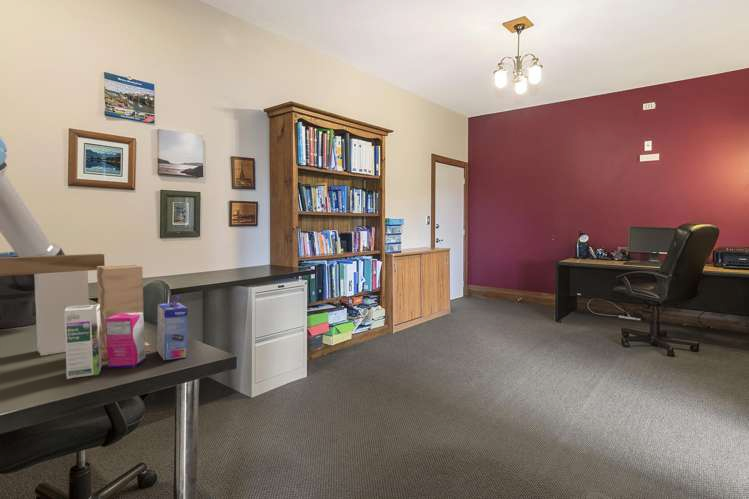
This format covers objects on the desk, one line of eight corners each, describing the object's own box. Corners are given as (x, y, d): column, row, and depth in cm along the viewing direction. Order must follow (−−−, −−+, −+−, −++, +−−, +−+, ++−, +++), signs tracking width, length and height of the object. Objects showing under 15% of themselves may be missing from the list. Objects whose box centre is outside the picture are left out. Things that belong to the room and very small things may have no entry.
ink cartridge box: (189, 357, 98) (188, 298, 97) (164, 362, 95) (162, 300, 94) (180, 347, 106) (179, 292, 105) (156, 351, 103) (155, 294, 102)
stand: (94, 350, 103) (91, 266, 102) (137, 342, 110) (135, 263, 109) (104, 359, 96) (100, 269, 95) (150, 350, 103) (147, 266, 102)
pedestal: (37, 350, 103) (34, 272, 102) (85, 342, 110) (82, 269, 109) (41, 356, 99) (37, 274, 98) (90, 347, 106) (87, 270, 105)
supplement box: (120, 360, 96) (118, 312, 95) (146, 359, 97) (145, 311, 96) (106, 368, 90) (104, 317, 90) (134, 368, 91) (132, 317, 90)
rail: (-10, 275, 95) (-11, 258, 95) (101, 268, 111) (100, 253, 111) (-9, 276, 93) (-10, 259, 92) (104, 269, 108) (104, 254, 108)
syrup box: (65, 379, 84) (62, 310, 83) (71, 370, 89) (68, 305, 88) (99, 375, 86) (96, 307, 86) (102, 366, 92) (100, 302, 91)
